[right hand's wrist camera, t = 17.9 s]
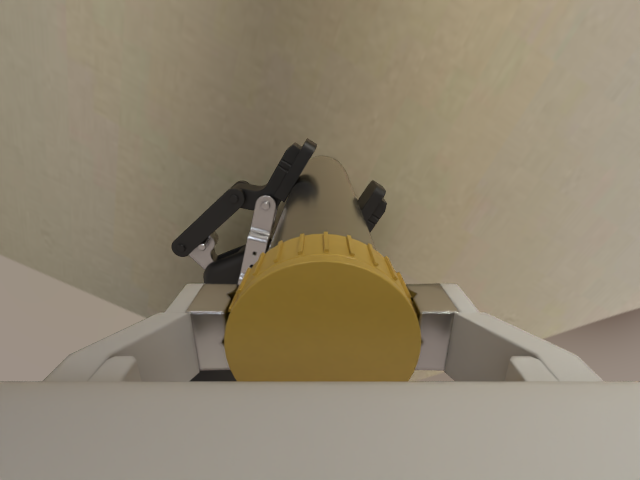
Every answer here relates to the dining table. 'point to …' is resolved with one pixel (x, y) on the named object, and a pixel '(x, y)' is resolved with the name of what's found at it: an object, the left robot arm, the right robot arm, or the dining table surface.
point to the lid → (322, 315)
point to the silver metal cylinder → (322, 205)
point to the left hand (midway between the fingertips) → (345, 165)
